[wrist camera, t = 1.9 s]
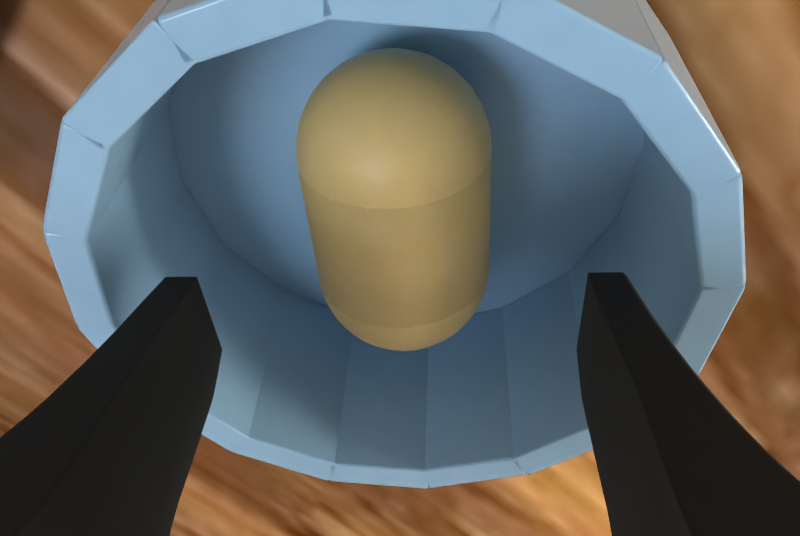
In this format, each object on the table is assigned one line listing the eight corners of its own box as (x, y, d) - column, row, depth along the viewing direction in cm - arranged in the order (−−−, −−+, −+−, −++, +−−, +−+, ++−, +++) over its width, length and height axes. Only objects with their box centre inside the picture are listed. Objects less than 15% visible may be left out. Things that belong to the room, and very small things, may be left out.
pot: (44, 121, 18) (-79, 271, 13) (438, -317, 12) (431, -285, 7) (387, 378, 24) (374, 536, 19) (765, 177, 18) (859, 345, 13)
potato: (298, 19, 15) (260, 116, 12) (490, 10, 15) (500, 109, 12) (339, 272, 20) (319, 386, 17) (484, 270, 19) (490, 386, 16)
